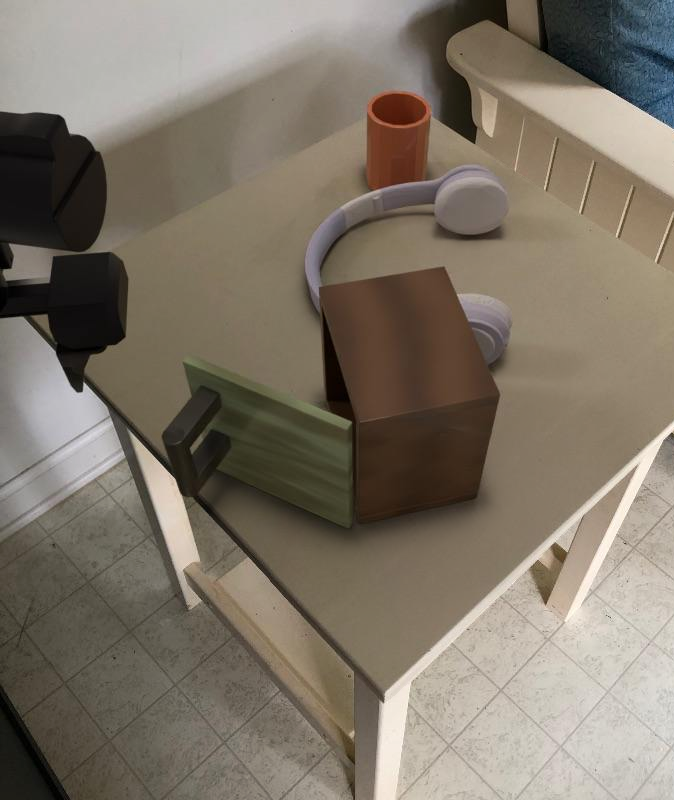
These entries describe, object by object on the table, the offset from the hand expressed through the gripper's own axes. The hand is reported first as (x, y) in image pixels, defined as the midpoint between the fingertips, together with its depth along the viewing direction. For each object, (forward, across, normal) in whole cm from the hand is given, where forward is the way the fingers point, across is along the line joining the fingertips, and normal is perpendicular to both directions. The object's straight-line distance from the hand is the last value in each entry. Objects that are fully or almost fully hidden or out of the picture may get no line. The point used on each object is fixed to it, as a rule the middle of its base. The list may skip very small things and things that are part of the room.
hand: (10, 394), depth 56 cm
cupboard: (+13, -27, -1) cm, 30 cm away
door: (+13, -16, +5) cm, 21 cm away
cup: (+13, -33, -36) cm, 51 cm away
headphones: (+13, -32, -20) cm, 40 cm away
